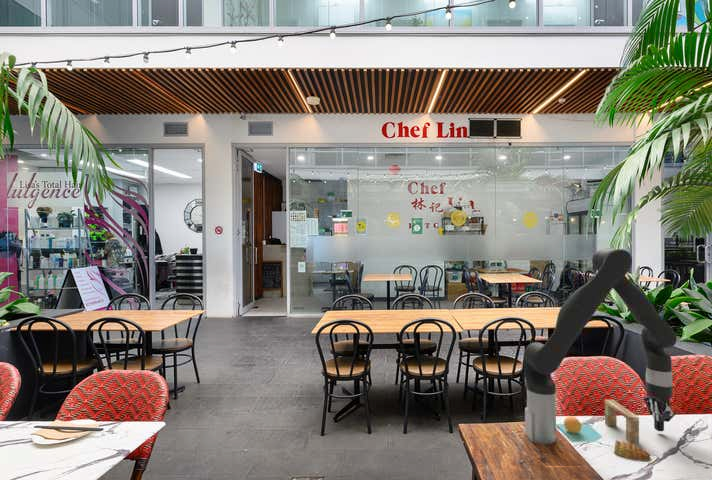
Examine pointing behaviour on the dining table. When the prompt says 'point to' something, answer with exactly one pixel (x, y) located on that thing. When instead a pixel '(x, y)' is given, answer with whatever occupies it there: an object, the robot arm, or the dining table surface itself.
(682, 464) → the dining table surface
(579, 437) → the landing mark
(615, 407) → the bridge
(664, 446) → the dining table surface
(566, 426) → the ball
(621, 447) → the pastry
